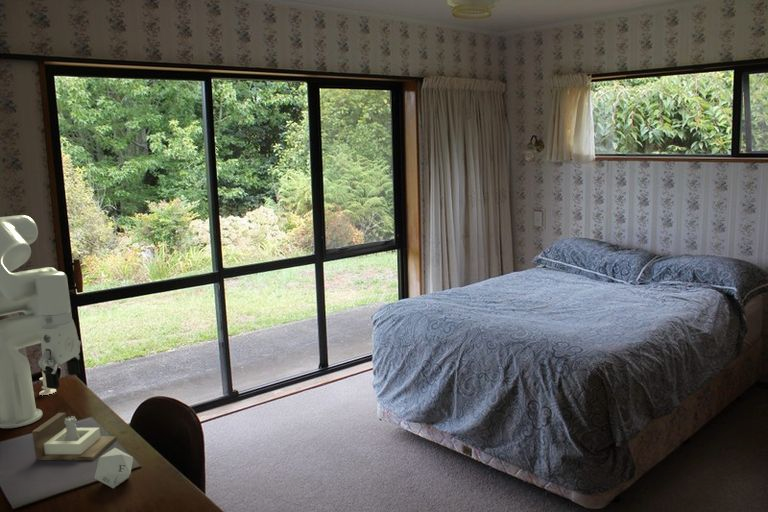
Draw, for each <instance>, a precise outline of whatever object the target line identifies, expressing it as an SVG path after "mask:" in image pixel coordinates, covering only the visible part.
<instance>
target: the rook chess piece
mask: <svg viewBox="0 0 768 512" xmlns="http://www.w3.org/2000/svg"><path fill="white" fill-rule="evenodd" d="M77 421H78V419H77V418H76V416H74V415H70V416H66V418H65V421H64V424H66V427H65V428H66V430H67V436H66V440H65V441H78V440H79V439H80V438H81V437H79V435H78V433H77V429H76V428H77V424H76V423H77Z"/></svg>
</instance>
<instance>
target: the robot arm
mask: <svg viewBox="0 0 768 512" xmlns="http://www.w3.org/2000/svg"><path fill="white" fill-rule="evenodd" d="M38 236H39V228H38V225H37V223H36V222H35V220H34V219H33V218H31V217H30V216H28V215H25V214H19V215H18V214H16V215H9V216H0V317H2V316H3V317H4V316H8V315H12V314H17V313H23V314H22V315H19V316H13V317H8V318H4V319H0V429H15V428H20V427H23V426H28V425H31V424H33V423H35V422H37V421H38V420H40V419H41V418H42V417H43V411H42V409H40V408H37V407H36V401H35V394H34V387H33V379H32V372H31V371H32V370H31V365H30V361H29V359H28V358H27V357H26V356H25V355H23V354H22V353H21V352H20V351H19V350H20V349H23V348H27V347H30V346H34V345H35V346H36V345H38V344H40V345H41V355H42V356H41V357H40V358H39V360H38V361H37V364H38V366H39V367H40V371H41V372H42V371H43V373H44V374H45V377H46V385H47V388H51V389H58V388H60V380H59V379H60V378H59V372H57V370H58V366H59V365H63V364H65V363H67V364H66V366H67V373H68V375H74V376H75V375H80V374H81V368H80V367H81V366H80V359H81V358H80V357H81V356H80V353H81V349H80V348H81V345H82V342H81V340H79V336H78V331H77V327H76V324H75V322H74V319H73V316H72V315H73V314H72V306H71V299H70V291H69V284H68V276H67V274H66V273H65V272H63V271H60V270H59V271H58V270H57V269H56V268H55V267H51V266H50V267H49V266H47V267H46V266H45V267H40V268H34V269H28V270H19V271H16V272H13V271H15V270H16V269H18V268H19V267H21V266H22V265H24V264H26V263H27V262H28V260H29V259H30V257H31V254H32V248H31V246H30V245H32V244H33V243H35V241H36V240H37V239H38ZM51 366H52V367H51Z"/></svg>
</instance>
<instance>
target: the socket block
mask: <svg viewBox="0 0 768 512" xmlns="http://www.w3.org/2000/svg"><path fill="white" fill-rule="evenodd" d="M76 429H77V433H78V435H79V437H81V438H80V439H79V440H78V441H65V440H66V436H67V430H66V428H64V429H63V430H62V431H60V432H59V433H58V434H56V435H55V436H54V437H52V438H51V439H50V440H48V441H47V442H46V443H44V450H45V454H82V453H83V452H84V451H85V450H87V449H88V448H89V447H90V446H91V445H92V444H94V443H95V442H96V441H97V440H98V439H100V438H101V432H100V431H101V428H100V427H76Z"/></svg>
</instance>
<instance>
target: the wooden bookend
mask: <svg viewBox="0 0 768 512" xmlns="http://www.w3.org/2000/svg"><path fill="white" fill-rule="evenodd" d="M65 418H67V412H58V413H56V414H55V415H54V416H52V417H50V418H49V419H48V420H47V421H45V422H43V423H42V424H40V425H39V426H38V427H36V428H35V429H34V430H32V433H31V434H32V439H33V440H32V441H33V447H34V453H35V461H62V460H61V459H71V460H70V461H94V460H96V459H97V458H99V457H100V456H101V454H102V453H104V452H105V451H106V450H107V449H108V448H109V447H110V446H111V445H112V444H113V443H115V442H116V441H117V440H118V439H117V436H116V435H113V436H112V435H109V436H106V435H104V436H103V435H102V436H101V435H100V436H101V438H100V439H98V440H97V441H96V442H95V443H94V444H92V445H91V446H90V447H89V448H88V449H87V450H85V451H84V452H83V453H82V454H45V450H44V443H46V442H47V441H48V440H50V439H51V438H52V437H54V436H55V435H56V434H58V433H59V432H60V431H62V430H63V429H64V428H65V427H66V424H64V421H65ZM114 441H115V442H114ZM105 449H106V450H105ZM96 457H97V458H96ZM95 458H96V459H95ZM72 459H74V460H72Z"/></svg>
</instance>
